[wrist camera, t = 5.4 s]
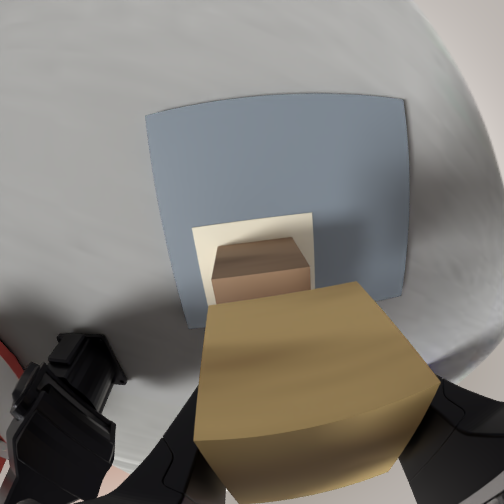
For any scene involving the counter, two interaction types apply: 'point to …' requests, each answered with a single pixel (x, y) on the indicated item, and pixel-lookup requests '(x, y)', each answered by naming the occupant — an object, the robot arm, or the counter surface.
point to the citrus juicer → (6, 395)
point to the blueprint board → (284, 187)
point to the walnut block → (259, 270)
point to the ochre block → (306, 393)
